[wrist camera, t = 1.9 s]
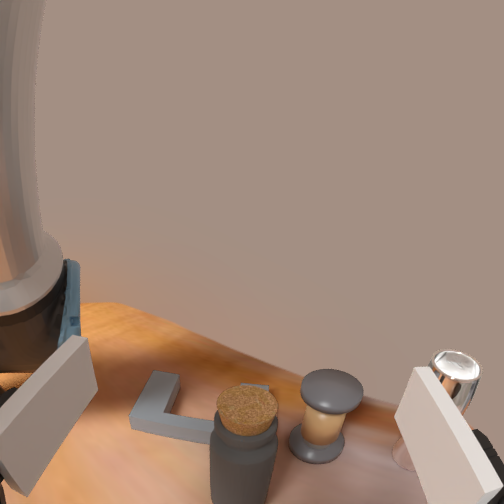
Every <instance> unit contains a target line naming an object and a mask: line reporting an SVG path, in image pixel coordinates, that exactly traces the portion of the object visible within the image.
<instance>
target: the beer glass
mask: <svg viewBox="0 0 504 504" xmlns="http://www.w3.org/2000/svg"><path fill="white" fill-rule="evenodd" d="M428 367H430V368H431V369H432V371H433V372H434V374H435V375H436V377H437V378H438V380H439V381H440V382H441V384H442V385H443V387H444V388H445V390H446V391H447V393H448V394H449V396H450V398H451V399H452V401H453V402H454V404H455V405H456V407H457V408H458V410H459V411H460V413H461V415H462V416H463V415H464V413H465V412H466V410H467V408H468V406H469V405H470V403H471V400H472V398H473V396H474V394H475V391H476V389H477V386H478V384H479V381H480V378H481V376H482V374H483V369H482V366H481V364H480V363H479V362H478V361H477V360H476V359H475V358H474V357H472V356H470V355H469V354H466V353H464V352H461V351H458V350H453V349H443V350H439V351H437V352H435V353H434V354H433V355H432V359H431V361H430V363H429V365H428ZM392 456H393V459H394V461H395V462H396V463H397V464H398V465H399V466H400V467H402V468H404V469H407V470H411V471H416V469H415V467H414V464H413V462H412V459H411V457H410V454H409V452H408V449H407V447H406V444H405V442H404V439H403V437H402V436H401V437H400V439H399V440H398V441H397V442H396V443H395V445H394V447H393V449H392Z"/></svg>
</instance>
